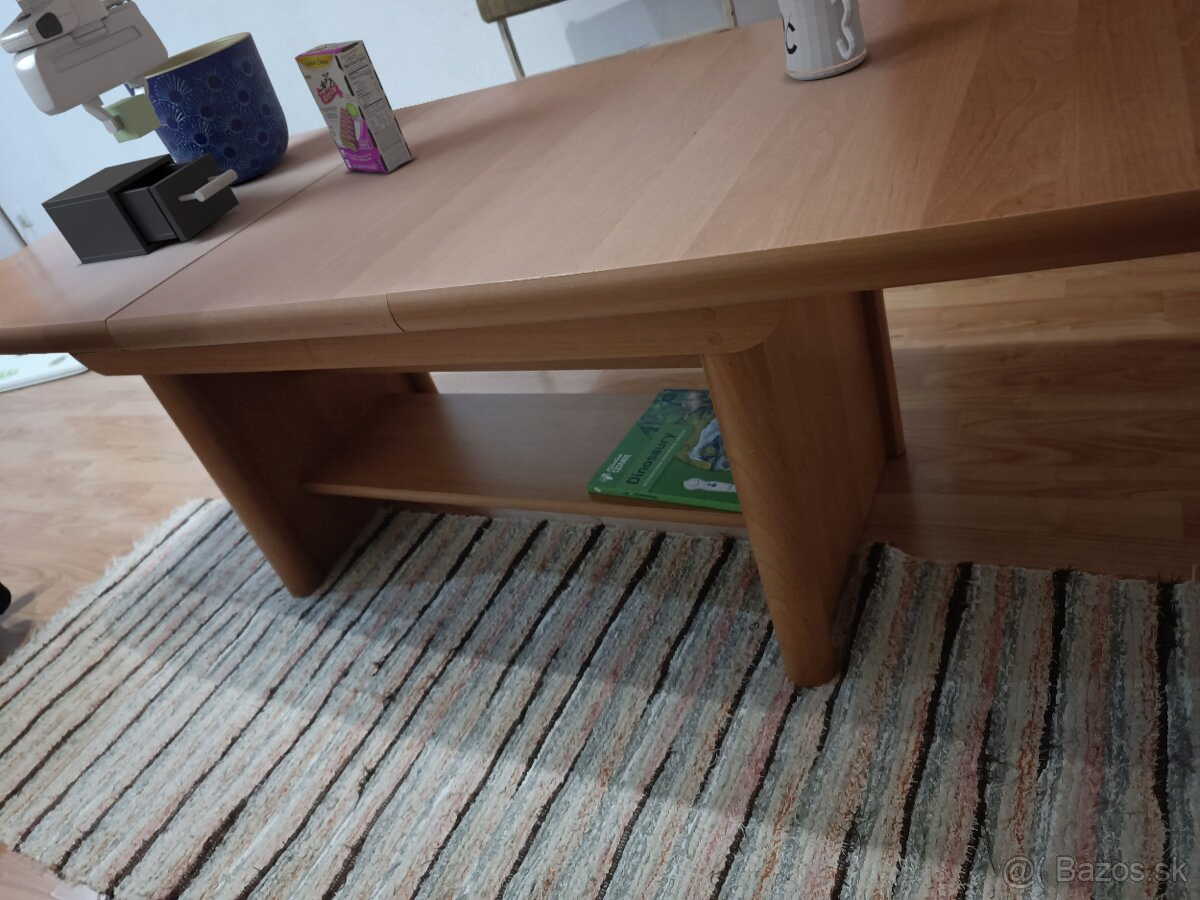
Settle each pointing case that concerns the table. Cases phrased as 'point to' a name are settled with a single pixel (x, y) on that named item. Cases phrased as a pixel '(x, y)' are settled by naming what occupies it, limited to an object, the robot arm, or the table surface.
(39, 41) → the robot arm
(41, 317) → the table surface
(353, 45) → the candy bar box
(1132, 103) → the table surface
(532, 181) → the table surface
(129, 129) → the block
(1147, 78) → the table surface
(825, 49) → the mug
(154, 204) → the drawer
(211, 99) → the planter
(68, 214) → the cabinet
